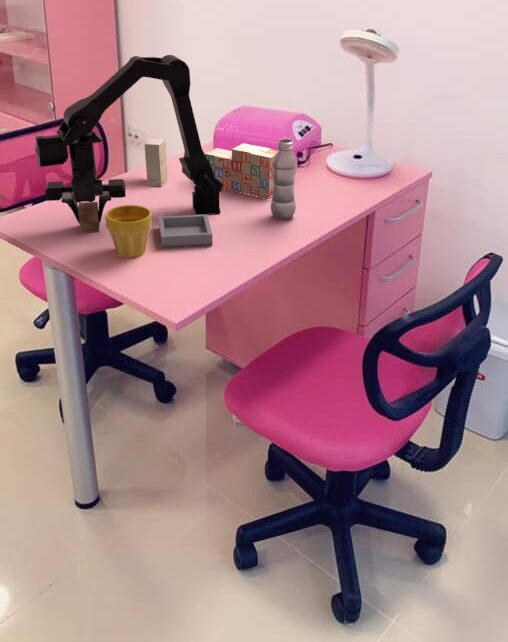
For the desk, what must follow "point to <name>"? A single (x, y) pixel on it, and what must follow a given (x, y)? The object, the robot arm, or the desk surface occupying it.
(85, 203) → the walnut block
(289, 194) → the plastic bottle
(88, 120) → the robot arm
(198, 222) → the tray
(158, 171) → the skincare box
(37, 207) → the desk surface
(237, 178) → the stack of blocks
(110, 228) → the plant pot
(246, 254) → the desk surface
